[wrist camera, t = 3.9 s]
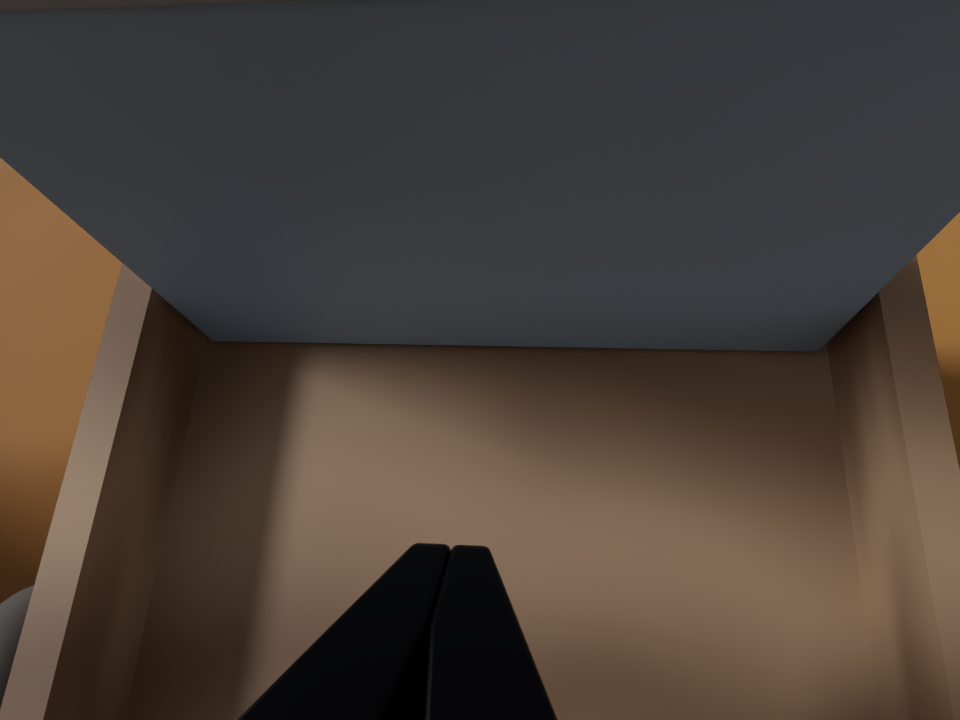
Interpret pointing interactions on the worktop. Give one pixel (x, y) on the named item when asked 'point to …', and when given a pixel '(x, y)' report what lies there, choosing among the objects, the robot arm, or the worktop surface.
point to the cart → (507, 518)
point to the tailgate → (495, 161)
